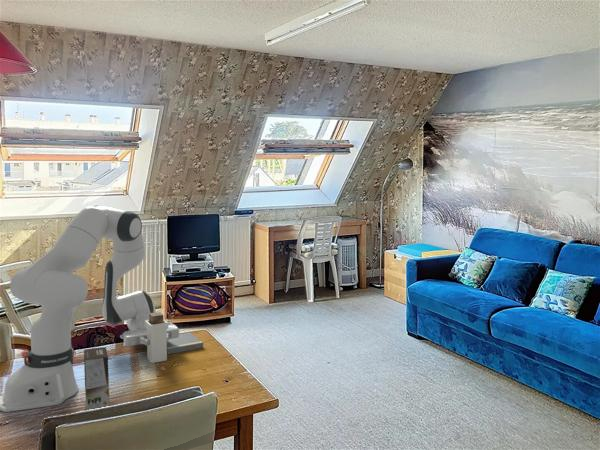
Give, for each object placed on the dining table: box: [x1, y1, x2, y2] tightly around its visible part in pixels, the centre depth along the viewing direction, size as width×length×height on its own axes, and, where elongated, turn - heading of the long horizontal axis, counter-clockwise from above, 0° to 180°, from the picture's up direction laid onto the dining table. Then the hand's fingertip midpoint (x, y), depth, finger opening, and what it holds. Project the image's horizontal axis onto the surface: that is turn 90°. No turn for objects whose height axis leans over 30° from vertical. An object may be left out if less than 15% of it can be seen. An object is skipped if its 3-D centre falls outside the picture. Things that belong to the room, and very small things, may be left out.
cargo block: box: [149, 311, 165, 325], centre depth 188 cm, size 4×4×4 cm
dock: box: [167, 332, 204, 355], centre depth 205 cm, size 14×14×2 cm
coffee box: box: [83, 346, 110, 411], centre depth 154 cm, size 9×6×16 cm
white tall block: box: [145, 319, 168, 364], centre depth 189 cm, size 6×6×14 cm
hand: (157, 341), depth 189 cm, fingers closed on white tall block, 5 cm apart
